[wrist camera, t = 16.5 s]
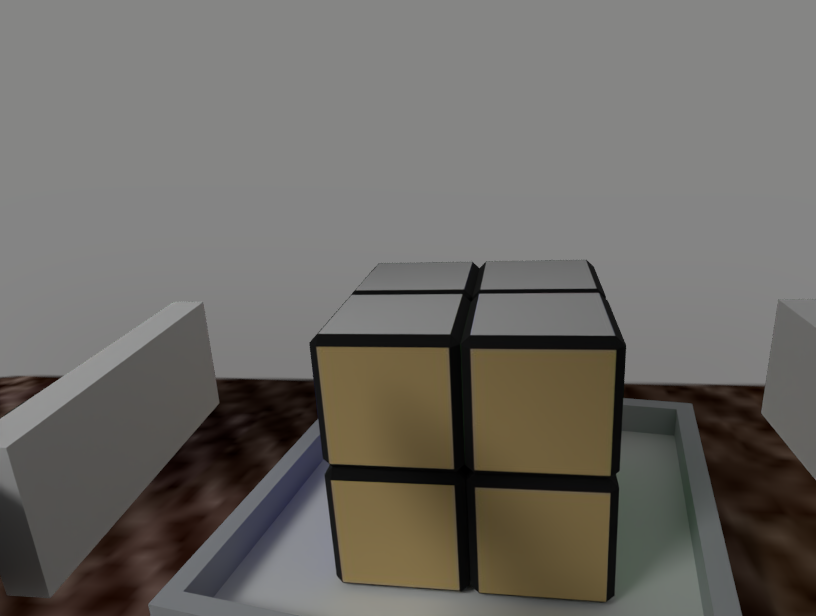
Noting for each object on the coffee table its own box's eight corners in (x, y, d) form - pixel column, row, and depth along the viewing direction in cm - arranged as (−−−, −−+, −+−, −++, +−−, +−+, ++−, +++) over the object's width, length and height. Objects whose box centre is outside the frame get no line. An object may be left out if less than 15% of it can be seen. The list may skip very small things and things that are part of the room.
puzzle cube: (387, 448, 33) (373, 261, 30) (587, 455, 31) (593, 257, 28) (334, 588, 23) (304, 337, 20) (615, 611, 22) (629, 338, 19)
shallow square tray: (161, 662, 22) (148, 604, 21) (359, 414, 39) (355, 377, 38) (760, 812, 16) (771, 741, 16) (688, 446, 33) (691, 403, 32)
